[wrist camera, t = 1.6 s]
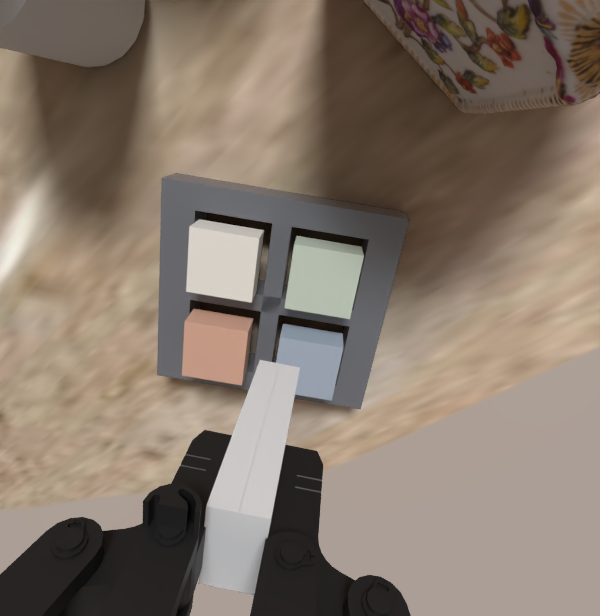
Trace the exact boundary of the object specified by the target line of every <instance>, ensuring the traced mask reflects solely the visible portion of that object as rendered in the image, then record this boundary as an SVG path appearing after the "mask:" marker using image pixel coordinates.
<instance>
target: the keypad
mask: <svg viewBox="0 0 600 616" xmlns="http://www.w3.org/2000/svg"><path fill="white" fill-rule="evenodd" d="M206 212H207V213H213V214H219V215H225V216H231V217H237V218H243V219H249V220H255V221H261V222H267V223H272V230H271V238H270V246H269V254H268V261H267V269H266V277H265V281H261V280H258V285H257V292H256V294H255V296H254V298H253V301H252V303H250V302H245V301H239V300H233V299H227V298H221V297H215V296H209V295H203V294H197V293H191V292H186V283H187V263H188V244H189V226H191V225H192V224H194V223H195V222H196V221H198V220H199V219H201V220H205V216H206ZM408 223H409V218H408V217H407V216H406V215H405V214H404V212H403V211H397V210H391V209H385V208H379V207H373V206H367V205H362V204H356V203H350V202H344V201H338V200H332V199H326V198H320V197H314V196H308V195H302V194H296V193H290V192H284V191H278V190H273V189H267V188H261V187H255V186H249V185H243V184H237V183H231V182H225V181H219V180H213V179H207V178H201V177H195V176H189V175H184V174H178V173H175V174H172V175H169V176H166V177H163V178H162V192H161V235H160V278H159V321H158V364H157V375H159V376H165V377H171V378H177V379H183V380H189V381H195V382H201V383H207V384H213V385H219V386H225V387H231V388H237V389H243V390H249V388H250V385H251V383H252V380H253V377H254V374H255V372H256V369H257V366H258V364H259V361H260V360H263V361H269V362H274V363H276V360H277V357H274V355H275V348H276V341H277V335H278V328H279V321H280V315H284V316H290V317H296V318H302V319H308V320H313V321H319V322H325V323H331V324H337V325H343V326H345V327H344V332H343V352H342V357H341V361H340V366H339V370H338V375H337V379H336V384H335V388H334V393H333V397H332V401H331V400H325V399H319V398H313V397H307V396H301V395H295V397H294V398H296V399H302V400H308V401H314V402H320V403H326V404H332V405H338V406H344V407H350V408H356V409H361V406H362V402H363V398H364V394H365V390H366V386H367V382H368V378H369V375H370V371H371V367H372V363H373V359H374V355H375V351H376V347H377V344H378V340H379V336H380V332H381V328H382V324H383V320H384V316H385V313H386V309H387V305H388V301H389V297H390V293H391V289H392V285H393V282H394V278H395V274H396V270H397V266H398V262H399V258H400V254H401V251H402V247H403V243H404V239H405V235H406V231H407V227H408ZM294 227H296V228H302V229H308V230H314V231H320V232H326V233H332V234H338V235H344V236H350V237H356V238H362V239H364V241H363V245H362V250H363V254H364V258H363V263H362V267H361V272H360V276H359V281H358V285H357V290H356V294H355V299H354V303H353V307H352V312H351V316H350V319H346V318H340V317H334V316H328V315H322V314H316V313H310V312H304V311H298V310H292V309H286V308H284V307H285V301H286V294H287V288H288V285H285V281H286V275H287V268H288V261H289V255H290V248H291V241H292V234H293V228H294ZM200 301H201V302H206V303H212V304H218V305H224V306H230V307H236V308H242V309H248V310H254V311H260V312H261V316H260V323H259V331H258V339H257V347H256V354H254V353H249V359H248V367H247V372H246V375H245V378H244V381H243V384H242V386H241V385H235V384H230V383H224V382H218V381H212V380H206V379H200V378H194V377H188V376H182V362H183V343H184V323H185V320H186V319H187V317H188V316H189V315H190V313H191V312H192V311H193V309H199V308H200Z"/></svg>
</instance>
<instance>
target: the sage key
mask: <svg viewBox="0 0 600 616" xmlns="http://www.w3.org/2000/svg"><path fill="white" fill-rule="evenodd" d="M363 258H364V254H363V250H362V247H361V246H355V245H349V244H343V243H337V242H331V241H325V240H319V239H313V238H307V237H301V236H296V240H295V243H294V248H293V255H292V262H291V268H290V275H289V281H288V288H287V294H286V301H285V307H284V308H286V309H292V310H298V311H304V312H310V313H316V314H322V315H328V316H334V317H340V318H346V319H350V316H351V312H352V307H353V303H354V299H355V294H356V290H357V285H358V281H359V276H360V272H361V267H362V263H363Z"/></svg>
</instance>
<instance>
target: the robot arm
mask: <svg viewBox="0 0 600 616" xmlns="http://www.w3.org/2000/svg"><path fill="white" fill-rule="evenodd" d="M299 371H300V367H295V366H289V365H284V364H279V363H274V362H269V361H263V360H260V361H259V364H258V366H257V369H256V372H255V374H254V377H253V380H252V383H251V385H250V388H249V391H248V394H247V396H246V399H245V402H244V404H243V407H242V410H241V413H240V415H239V418H238V421H237V424H236V426H235V429H234V432H233V434H232V435H227V434H222V433H217V432H212V431H207V430H204V431H203V432H202V433H201V434H199V435H198V436H197V437H196V438H195V439H193V440H192V442H191V444H190V446H189V449H188V451H187V453H186V456H185V457H184V459H183V461H182V463H181V466H180V467H179V469H178V471H177V473H176V475H175V477H174V479H173V481H172V483H171V484H168V485H164V486H160V487H158V488H157V489H155V490H153V491H152V492H150V493H149V494H148V496H147V497H146V498H145V499H144V501H143V523H142V524H140V525H138V526H135V527H131V528H126V529H119V530H109V531H102V529H101V526H100V525H99V524H97V523H96V522H95V521H94V520H92V519H88V518H84V517H79V518H70V519H68V520H65V521H62V522H59V523H57V524H56V525H55V526H53V527H52V528H50V529H49V530H47V531H46V532H45V533H44V534H43V535H42V536H41V537H40V538H39V539H38V540H37V541H35V542H34V543H33V544H32V545H31V546H30V547H29V548H28V549H27V550H26V551H25V552H24V553H23V554H22V555H21V556H20V557H18V558H17V559H16V560H15V561H14V562H13V563H12V564H11V565H10V566H9V567H8V568H7V569H6V570H5V571H4V572H3V573H1V574H0V616H189V615H190V612H191V609H192V602H193V593H194V590H195V587H196V584H197V581H198V578H199V584H204V585H209V586H214V587H218V588H224V589H228V590H233V591H238V592H243V593H247V594H252V595H254V599H253V604H252V609H251V614H250V616H410V613H409V610H408V607H407V604H406V602H405V600H404V598H403V596H402V594H401V593H400V591H399V590H398V589H397V588H396V587H395V586H394V585H393V584H392V583H391V582H389V581H387V580H385V579H383V578H382V577H378V576H372V575H367V576H363V577H359V578H358V579H357V580H356V581H355V580H353V579H351V578H350V577H348V576H346V575H344V574H342V573H341V572H339V571H338V570H336V569H335V568H333V567H332V566H331V565H330V564H329V563H328V562H327V561H326V559H325V558H324V556H323V554H322V553H321V550H320V547H319V543H318V532H319V517H320V503H321V502H320V501H321V488H322V474H323V463H322V461H321V459H320V456H319V454H318V452H317V451H314V450H308V449H303V448H298V447H293V446H288V445H286V440H287V435H288V429H289V424H290V419H291V413H292V408H293V403H294V397H295V392H296V387H297V381H298V376H299Z"/></svg>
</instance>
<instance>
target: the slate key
mask: <svg viewBox="0 0 600 616" xmlns="http://www.w3.org/2000/svg"><path fill="white" fill-rule="evenodd" d="M342 352H343V334H342V333H337V332H331V331H325V330H319V329H313V328H307V327H301V326H295V325H289V324H283V326H282V331H281V335H280V340H279V347H278V353H277V360H276V363H279V364H284V365H289V366H295V367H300V371H299V376H298V381H297V387H296V392H295V395H301V396H307V397H313V398H319V399H325V400H331V401H332V397H333V393H334V388H335V384H336V379H337V375H338V370H339V366H340V361H341V357H342Z"/></svg>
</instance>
